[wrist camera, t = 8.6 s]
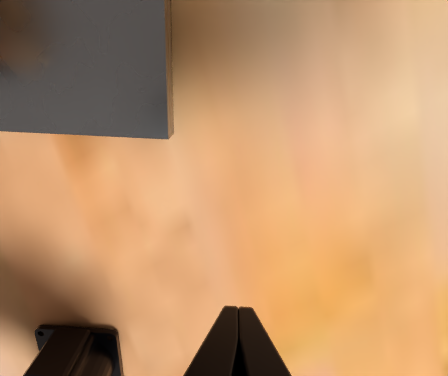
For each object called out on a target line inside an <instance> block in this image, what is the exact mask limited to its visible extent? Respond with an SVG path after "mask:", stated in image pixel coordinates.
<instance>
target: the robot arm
mask: <svg viewBox="0 0 448 376" xmlns="http://www.w3.org/2000/svg"><path fill="white" fill-rule="evenodd" d="M35 337H36V341H37V344H38V348H39V353H38V354H37V356H36V357H35V359H34V360H33V362H32V363H31V365H30V366H29V367H28V369H27V370H26V372H25V373H24V375H23V376H123V370H122V361H121V353H120V345H119V337H118V333H117V332H116V331H115V330H112V329H97V328H82V327H67V326H52V325H40V326H38V328H37V329H36V330H35ZM183 376H291V374H290V372H289V370H288V369H287V367H286V365H285V363H284V362H283V360H282V358H281V356H280V355H279V353H278V351H277V349H276V348H275V346H274V344H273V342H272V341H271V339H270V337H269V336H268V334H267V332H266V330H265V329H264V327H263V325H262V323H261V322H260V320H259V318H258V316H257V315H256V313H255V311H254V310H253V308H251V307H239V309H238V307H237V306H224V307H223V309H222V311H221V312H220V314H219V316H218V318H217V319H216V321H215V323H214V324H213V326H212V328H211V329H210V331H209V333H208V335H207V336H206V338H205V340H204V341H203V343H202V345H201V346H200V348H199V350H198V352H197V353H196V355H195V357H194V358H193V360H192V362H191V364H190V365H189V367H188V369H187V370H186V372H185V374H184V375H183Z"/></svg>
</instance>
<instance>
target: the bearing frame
mask: <svg viewBox="0 0 448 376" xmlns="http://www.w3.org/2000/svg"><path fill="white" fill-rule="evenodd" d="M0 131H9V132H30V133H50V134H71V135H91V136H111V137H132V138H152V139H169V138H170V137H171V136H172V135H173V134H174V125H173V81H172V38H171V0H0Z"/></svg>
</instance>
